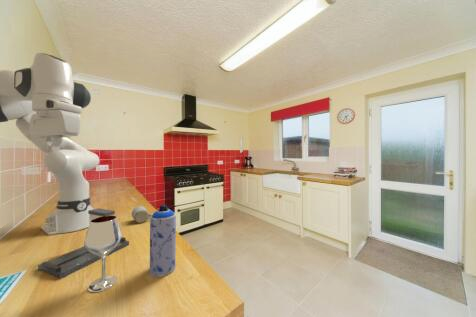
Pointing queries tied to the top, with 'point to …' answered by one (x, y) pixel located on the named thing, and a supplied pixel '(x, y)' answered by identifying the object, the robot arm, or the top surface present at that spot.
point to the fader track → (74, 261)
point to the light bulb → (140, 214)
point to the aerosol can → (162, 242)
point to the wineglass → (102, 246)
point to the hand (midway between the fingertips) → (53, 151)
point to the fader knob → (99, 213)
